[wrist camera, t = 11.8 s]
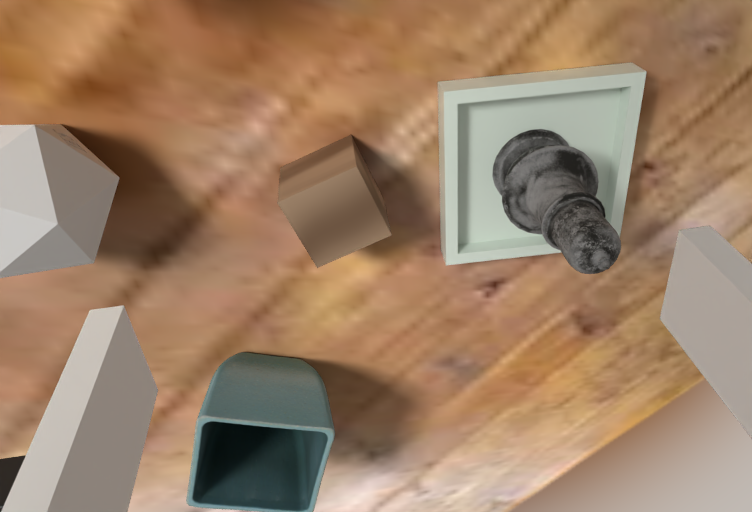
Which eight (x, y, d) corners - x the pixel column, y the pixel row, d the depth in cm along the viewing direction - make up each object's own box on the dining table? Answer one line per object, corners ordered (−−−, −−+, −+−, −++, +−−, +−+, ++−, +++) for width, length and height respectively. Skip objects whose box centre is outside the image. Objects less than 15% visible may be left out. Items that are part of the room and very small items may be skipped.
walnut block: (280, 167, 40) (277, 202, 35) (351, 134, 39) (356, 166, 35) (316, 227, 42) (317, 267, 38) (383, 198, 41) (391, 235, 37)
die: (151, 131, 38) (14, 95, 29) (147, 276, 39) (10, 288, 29) (40, 132, 41) (-121, 99, 31) (37, 268, 41) (-123, 277, 31)
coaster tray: (437, 81, 37) (443, 91, 36) (631, 62, 38) (646, 71, 36) (440, 250, 44) (446, 265, 42) (606, 231, 44) (618, 246, 43)
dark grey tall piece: (491, 216, 42) (550, 326, 32) (483, 135, 39) (546, 229, 29) (577, 198, 42) (663, 303, 32) (576, 115, 39) (672, 203, 28)
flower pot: (214, 326, 46) (196, 417, 38) (332, 340, 47) (337, 430, 40) (204, 411, 50) (185, 508, 42) (312, 421, 52) (312, 516, 44)
